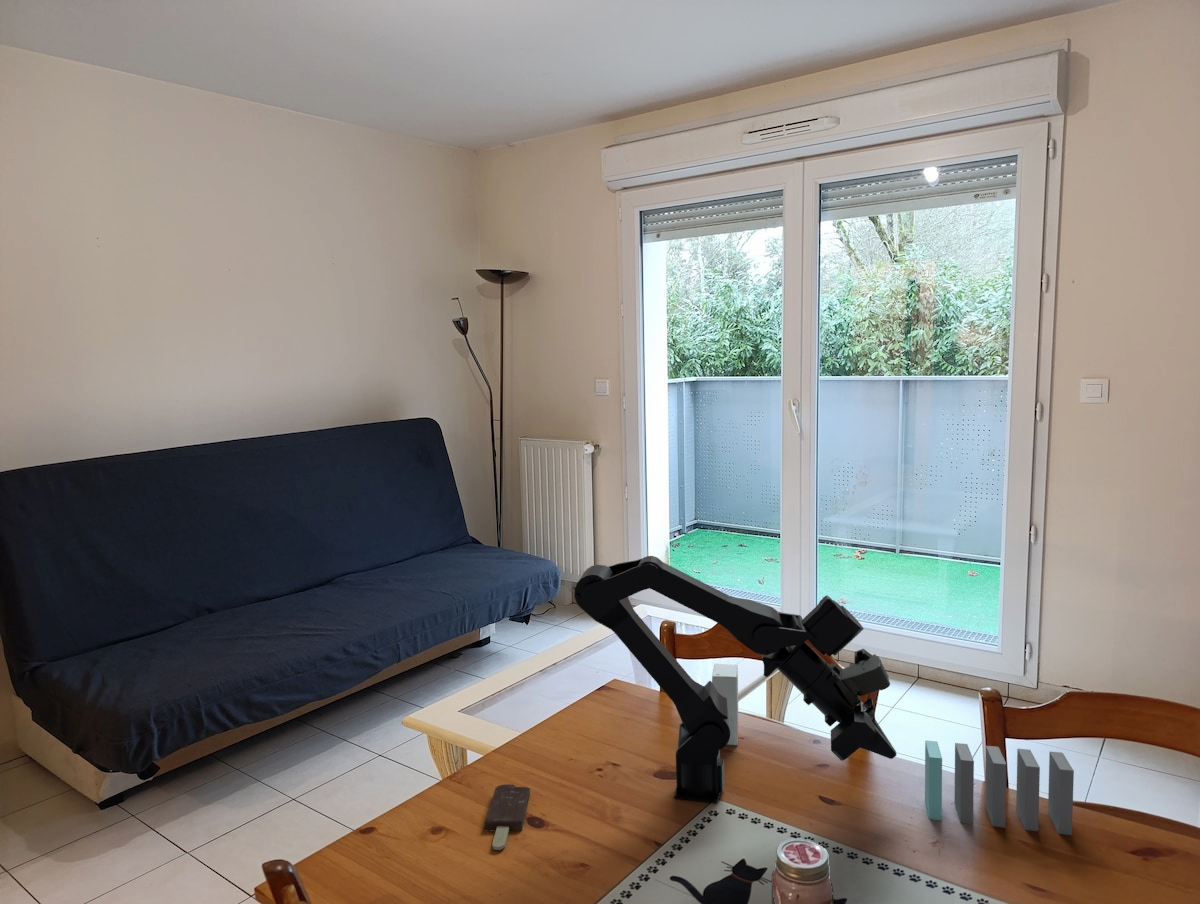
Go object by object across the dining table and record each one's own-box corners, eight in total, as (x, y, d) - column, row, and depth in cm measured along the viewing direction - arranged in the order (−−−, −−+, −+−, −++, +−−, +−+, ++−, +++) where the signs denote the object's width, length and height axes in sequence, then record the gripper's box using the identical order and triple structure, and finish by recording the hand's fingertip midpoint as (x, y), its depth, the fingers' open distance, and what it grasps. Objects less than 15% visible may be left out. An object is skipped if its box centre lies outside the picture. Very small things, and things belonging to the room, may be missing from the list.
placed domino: (929, 818, 108) (929, 757, 107) (924, 799, 113) (925, 740, 112) (941, 820, 107) (942, 758, 106) (936, 801, 112) (937, 741, 111)
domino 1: (960, 822, 107) (961, 759, 106) (954, 802, 112) (955, 742, 111) (973, 823, 106) (973, 761, 105) (966, 804, 111) (967, 744, 110)
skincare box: (738, 746, 131) (737, 677, 129) (712, 744, 131) (711, 676, 130) (739, 729, 136) (738, 663, 135) (714, 728, 137) (713, 662, 136)
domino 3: (1025, 829, 105) (1026, 766, 104) (1016, 809, 109) (1017, 748, 108) (1038, 831, 104) (1039, 767, 103) (1028, 810, 109) (1030, 749, 108)
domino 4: (1058, 833, 103) (1060, 769, 103) (1048, 813, 108) (1049, 751, 107) (1072, 835, 103) (1073, 770, 102) (1060, 814, 108) (1062, 752, 107)
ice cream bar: (517, 854, 104) (530, 793, 119) (516, 842, 104) (530, 783, 119) (478, 854, 104) (496, 794, 119) (477, 843, 104) (496, 784, 119)
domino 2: (992, 826, 106) (993, 763, 105) (984, 806, 110) (985, 745, 110) (1005, 827, 105) (1006, 764, 104) (997, 807, 110) (998, 746, 109)
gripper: (856, 664, 102) (947, 752, 100) (851, 619, 120) (928, 693, 118) (795, 717, 105) (882, 804, 103) (799, 665, 122) (873, 739, 121)
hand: (894, 755), depth 111 cm, fingers closed
